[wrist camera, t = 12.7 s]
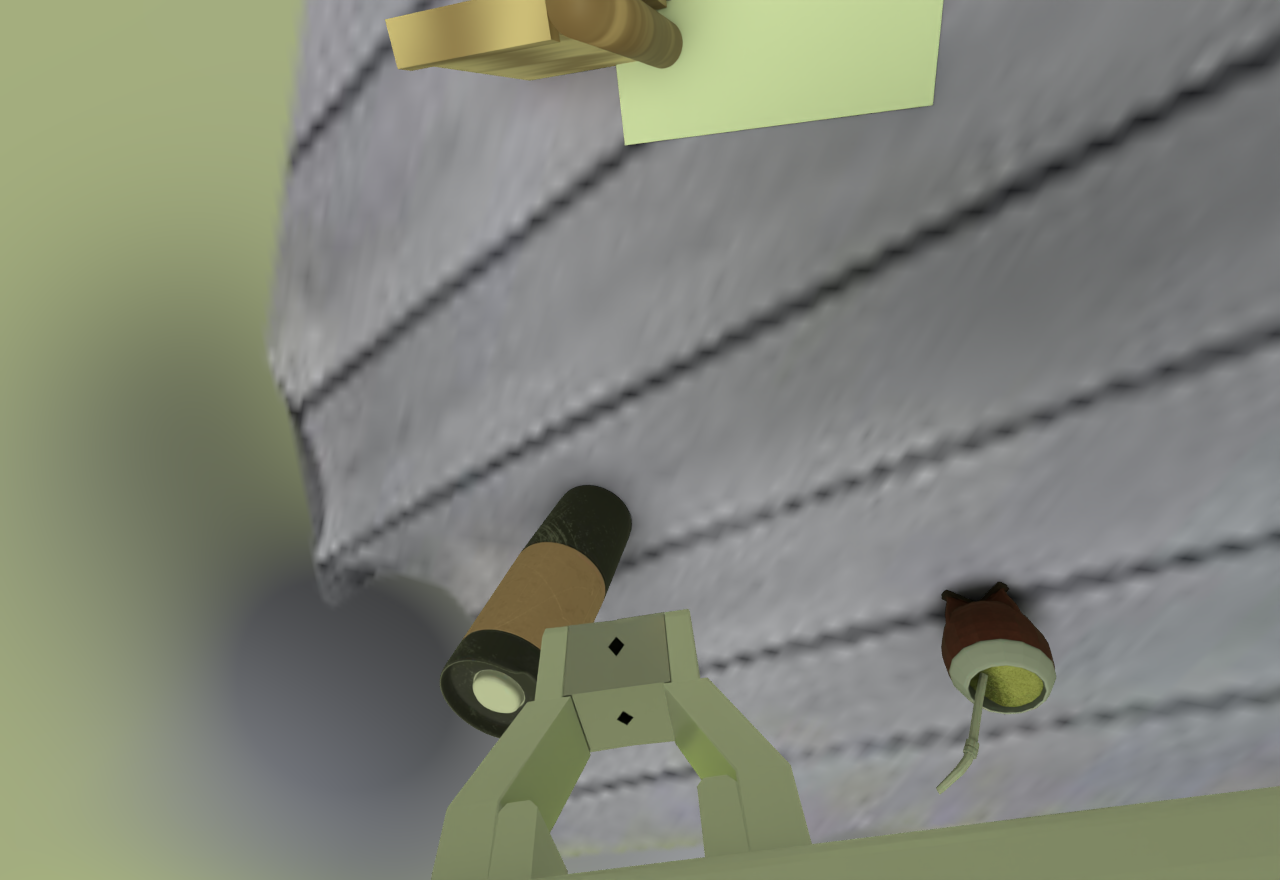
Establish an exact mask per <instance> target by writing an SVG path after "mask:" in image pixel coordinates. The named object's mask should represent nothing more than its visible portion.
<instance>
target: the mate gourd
mask: <svg viewBox="0 0 1280 880" xmlns="http://www.w3.org/2000/svg"><path fill="white" fill-rule="evenodd" d="M1008 590H1009V588H1008V587H1007V585H1006V584H1004V583H1002V582H998V583H997V584H995V585H994V586H993V587H992V588H991V589H990V590H989V591H988V592H987V593H986V594H985V595H984V596H983V597H982V598H981V599H980V600H979V601H977V602H975V601H973V600H970V599H968V598H965V597H963V596H961V595H958V594H956V593H954V592H951V591H949V590H945V591H944V592H943V593H942V599H943V600H945V601H946V602H947V603H946V611H945V618H946V624H945V627H944V632H943V638H942V646H941V648H942V656H943V660H944V663H945V666H946V669H947V671H948V674H949V676H950V678H951V680H952V682H953V685H954V686H955V687H956V688H957V689H958V690H959V691H960V692H961V693H962V694H963V695H964V696H965V697H966V698H967V699H968V700H969V701H971V702H972V703H973V704H974V707H973V713H972V719H971V726H970V732H969V739H966V743H965V746H964V750H963V753H964V756H963V758H962V759H961V761H960V762H959V763H958V765H957V766H956V767H955V768H954V770H953V771H952V772H951V773H950V774H949V775H948V776H947V777H946V778H945V779H944V780H943V781H942V782H941V783H940V784H939V785H938V786H937V787H936V789H937V791H938V793H939V794H941V793H942V792H944V791H945V790H946V789H947V788H948V787H949V786H951V785H952V784H953V783H954V782H955V781H956V780H957V779H959V778H960V777H961V776H962V775H963V774H964V773H965V772H966V770H967V769H968V768H969V766H970V765H971V764H972V761H973V759H976V757H977V753H978V749H979V743H978V735H979V727H980V721H981V714H982V708H983V709H985V710H988V711H990V712H996V713H1002V714H1016V713H1023V712H1026V711H1029V710H1032V709H1035V708H1037V707H1038V706H1040V705H1041V704H1042V703H1043V702H1045V701H1046V700H1047V698H1048V697H1049V695H1050V693H1051V690H1052V688H1053V685H1054V682H1055V680H1056V673H1055V666H1054V662H1053V658H1052V654H1051V651H1050V647H1049V644H1048V642H1047V641H1046V639H1045V637H1044V636H1043V634H1042V633H1041V632H1040V631H1039V630H1038V629H1037V628H1036V627H1035V626H1034V625H1033V624H1032V622H1031V621H1030V620H1029V619H1028V618H1027V617H1026V616H1025V615H1023V614H1022V613H1021V611H1020V609H1019V608H1018V606H1017V605H1016V603H1015V602H1014V601H1013V600H1012V599H1011V598H1010V597H1009V596H1008V594H1007V593H1006V592H1007V591H1008Z"/></svg>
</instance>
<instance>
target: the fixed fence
mask: <svg viewBox="0 0 1280 880" xmlns="http://www.w3.org/2000/svg"><path fill="white" fill-rule="evenodd" d="M385 21H386V25H387V29H388V32H389V36H390V40H391V44H392V48H393V52H394V56H395V59H396V63H397V67H398V69H402V70H410V71H413V70H418V69H423V68H428V67H441V68H448V69H454V70H461V71H468V72H475V73H482V74H489V75H496V76H503V77H509V78H516V79H523V80H536V79H541V78H547V77H553V76H559V75H565V74H570V73H576V72H582V71H588V70H594V69H599V68H605V67H611V66H616V65H617V64H623V63H629V62H635V61H639V62H642V63H644V64H647V65H650V66H653V67H656V68H661V69H663V68H668V67H670V66H672V65H673V64H674V63H675V62H676V61H677V60H678V58H679V56H680V54H681V51H682V46H683V40H682V35H681V32H680V30H679V28H678V27H677V26H676V24H674V23H673V22H672V21H670V20H669V19H667V18H666V17H664V16H663V15H662V14H660V13H659V12H657V11H656V10H654V9H653V8H652V7H650V6H649V5H647V4H646V3H644V2H643V1H642V0H471V1H466V2H462V3H457V4H453V5H448V6H444V7H439V8H435V9H430V10H426V11H421V12H417V13H412V14H408V15H403V16H399V17H394V18H390V19H385Z"/></svg>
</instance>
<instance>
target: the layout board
mask: <svg viewBox="0 0 1280 880" xmlns="http://www.w3.org/2000/svg"><path fill="white" fill-rule="evenodd" d="M666 3H667V8H663V9H658V10H656V11H657V12H659V13H660V14H662V15H663V16H664V17H666V18H667V19H669V20H670V21H672V22H673V23H674V24H676V26H677V27H678V28H679V30H680V32H681V35H682V40H683V46H682V51H681V54H680V56H679V58H678V60H677V61H676V62H675V63H674V64H673V65H672V66H670V67H668V68H663V69H661V68H656V67H653V66H650V65H647V64H644V63H642V62H639V61H635V62H629V63H623V64H617V65H616V69H617V78H618V87H619V96H620V105H621V113H622V122H623V131H624V140H625V145H631V144H638V143H646V142H654V141H661V140H669V139H677V138H684V137H692V136H699V135H707V134H715V133H722V132H730V131H738V130H745V129H753V128H761V127H768V126H776V125H784V124H791V123H799V122H807V121H814V120H822V119H830V118H837V117H845V116H853V115H860V114H868V113H876V112H883V111H891V110H899V109H906V108H914V107H922V106H929V105H933V96H934V87H935V77H936V67H937V57H938V47H939V37H940V28H941V18H942V8H943V0H666Z"/></svg>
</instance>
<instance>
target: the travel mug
mask: <svg viewBox="0 0 1280 880" xmlns="http://www.w3.org/2000/svg"><path fill="white" fill-rule="evenodd" d="M631 525H632V523H631V517H630V513H629V511H628V509H627V507H626V506H625V504H624V503H623V502H622V501H621V500H620V499H619V498H618V497H617V496H616V495H614V494H613V493H611V492H610V491H608V490H606V489H603V488H600V487H597V486H590V485H586V486H579V487H575V488H573V489H571V490H570V491H568V492H567V493H566V494H565V495H564V496H563V497H562V498H561V500H560V501H559V502H558V504H557V505H556V506H555V507H554V509H553V510H552V511H551V513H550V514H549V516H548V517H547V518H546V520H545V521H544V522H543V524H542V525H541V526H540V528H539V529H538V530H537V532H536V533H535V534H534V536H533V537H532V538H531V540H530V541H529V542H528V544H527V545H526V546H525V548H524V549H523V550H522V552H521V553H520V554H519V556H518V557H517V559H516V560H515V562H514V563H513V565H512V566H511V568H510V569H509V571H508V572H507V574H506V575H505V577H504V578H503V580H502V581H501V583H500V584H499V586H498V587H497V589H496V590H495V592H494V593H493V595H492V596H491V598H490V599H489V601H488V602H487V604H486V605H485V607H484V608H483V610H482V611H481V613H480V614H479V616H478V617H477V619H476V620H475V622H474V623H473V625H472V626H471V628H470V629H469V631H468V632H467V634H466V635H465V637H464V638H463V640H462V641H461V643H460V644H459V646H458V647H457V649H456V650H455V652H454V653H453V655H452V656H451V657H450V659H449V660H448V662H447V663H446V665H445V667H444V669H443V671H442V673H441V676H440V688H441V691H442V694H443V696H444V698H445V700H446V702H447V703H448V705H449V706H450V707H451V708H452V710H453V711H454V712H455V713H456V714H457V715H458V716H459V717H461V718H462V719H463V720H464V721H466V722H467V723H468V724H470V725H471V726H473V727H474V728H476V729H478V730H480V731H482V732H484V733H486V734H489V735H491V736H494V737H497V738H501V736H502V735H503V734H504V732H505V731H506V730H507V728H508V727H509V726H510V724H511V723H512V722H513V720H514V719H515V718H516V716H517V715H518V714H519V712H520V711H521V710H522V709H523V707H524V706H525V705H526V703H527V702H531V701H535V693H536V685H537V677H538V668H539V660H540V652H541V644H542V636H543V633H544V631H545V629H546V628H555V627H563V626H570V625H578V624H587V623H594V620H595V618H596V616H597V614H598V612H599V609H600V607H601V605H602V603H603V601H604V598H605V596H606V593H607V591H608V588H609V586H610V583H611V581H612V578H613V576H614V573H615V571H616V568H617V566H618V563H619V561H620V558H621V556H622V553H623V551H624V548H625V546H626V543H627V540H628V538H629V535H630V532H631Z"/></svg>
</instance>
